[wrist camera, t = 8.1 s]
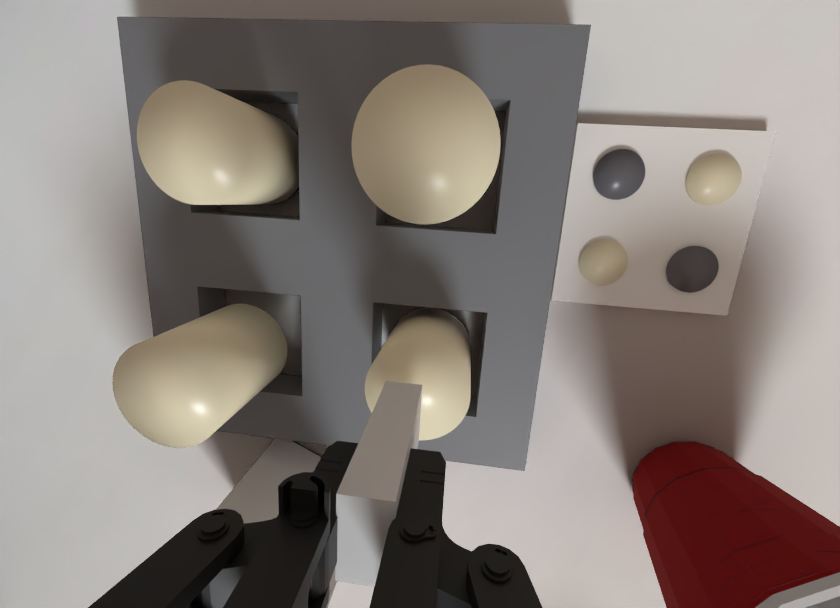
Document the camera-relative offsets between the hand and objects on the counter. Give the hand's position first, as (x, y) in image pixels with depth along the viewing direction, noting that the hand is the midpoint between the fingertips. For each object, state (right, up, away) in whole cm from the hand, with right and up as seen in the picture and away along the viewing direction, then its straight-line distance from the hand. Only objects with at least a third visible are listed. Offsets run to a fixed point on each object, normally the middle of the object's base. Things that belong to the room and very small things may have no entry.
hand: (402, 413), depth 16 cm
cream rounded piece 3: (+1, +2, +7) cm, 8 cm away
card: (+13, +9, +5) cm, 16 cm away
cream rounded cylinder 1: (-8, +13, +6) cm, 16 cm away
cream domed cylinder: (+2, +11, +2) cm, 11 cm away
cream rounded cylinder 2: (-9, +2, +6) cm, 11 cm away
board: (-3, +7, +7) cm, 11 cm away
